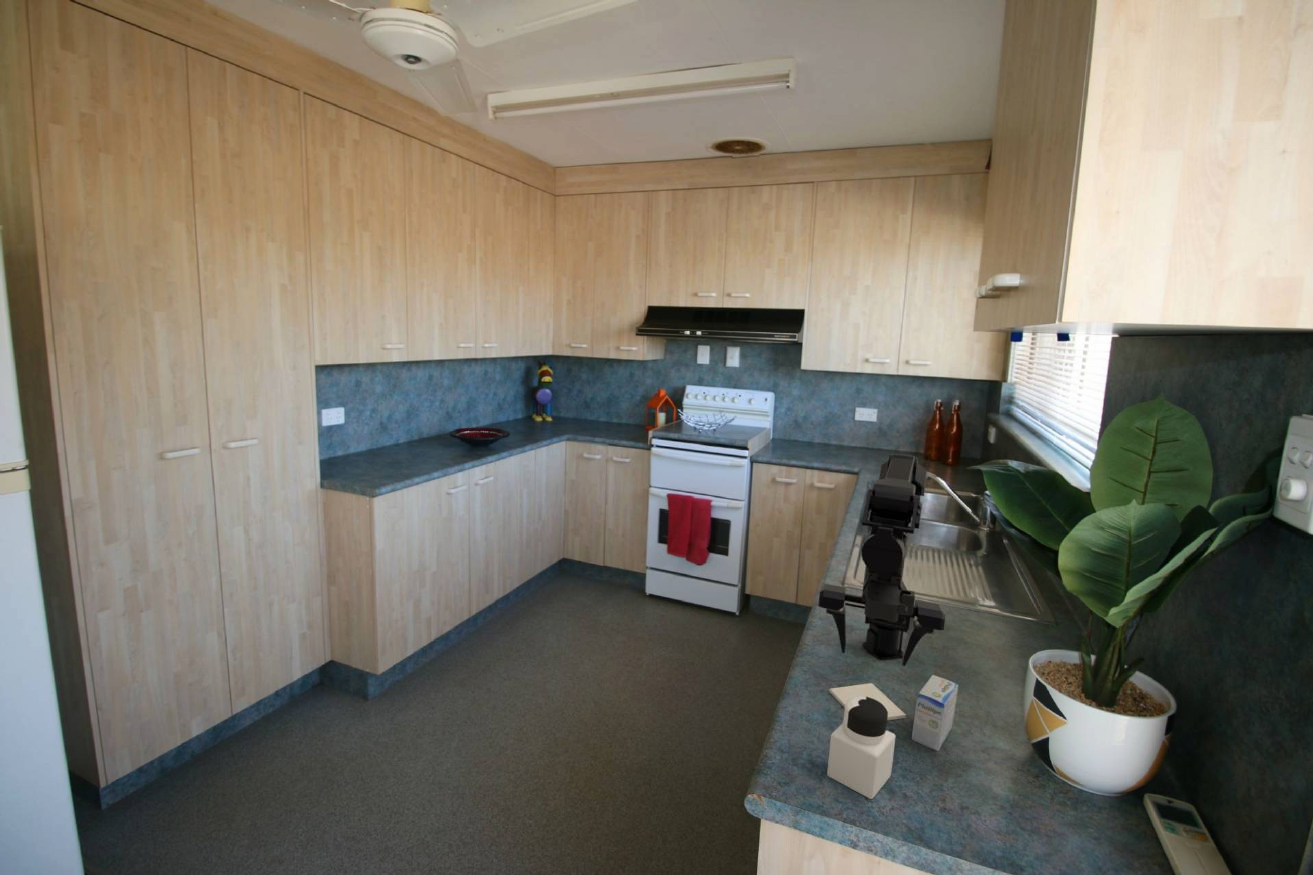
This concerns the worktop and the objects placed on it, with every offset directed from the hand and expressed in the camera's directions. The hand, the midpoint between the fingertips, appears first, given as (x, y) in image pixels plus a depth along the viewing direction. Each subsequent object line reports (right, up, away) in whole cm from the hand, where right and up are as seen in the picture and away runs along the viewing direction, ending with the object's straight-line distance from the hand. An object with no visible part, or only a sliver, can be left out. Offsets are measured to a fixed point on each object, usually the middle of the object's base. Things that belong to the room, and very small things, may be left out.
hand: (873, 658), depth 102 cm
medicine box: (+11, -15, +5) cm, 19 cm away
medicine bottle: (-4, -16, -6) cm, 17 cm away
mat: (+3, -13, +12) cm, 18 cm away
